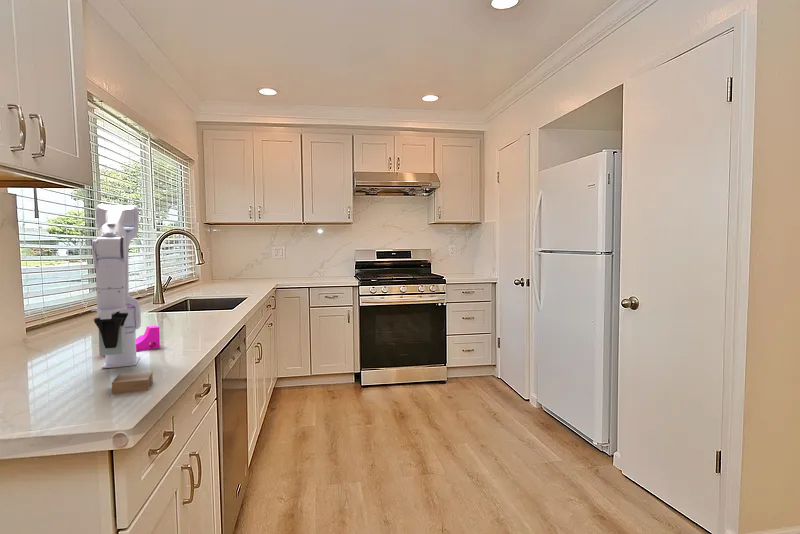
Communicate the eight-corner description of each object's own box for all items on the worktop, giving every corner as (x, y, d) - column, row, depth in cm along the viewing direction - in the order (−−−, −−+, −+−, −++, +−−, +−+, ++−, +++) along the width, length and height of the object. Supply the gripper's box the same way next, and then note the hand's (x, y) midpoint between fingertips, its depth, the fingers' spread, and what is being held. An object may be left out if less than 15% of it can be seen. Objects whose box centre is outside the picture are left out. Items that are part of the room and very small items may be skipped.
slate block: (103, 351, 109) (102, 326, 109) (125, 350, 111) (124, 325, 110) (99, 355, 105) (98, 329, 104) (122, 353, 106) (121, 328, 106)
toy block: (154, 347, 148) (154, 324, 147) (160, 350, 143) (159, 327, 143) (99, 355, 138) (99, 330, 137) (103, 358, 133) (102, 333, 133)
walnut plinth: (119, 387, 106) (118, 374, 106) (152, 384, 109) (152, 371, 109) (112, 396, 100) (111, 382, 100) (148, 392, 102) (148, 379, 102)
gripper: (97, 286, 112) (99, 341, 113) (83, 291, 99) (85, 353, 99) (130, 285, 115) (132, 339, 115) (120, 290, 102) (122, 350, 102)
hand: (112, 345), depth 108 cm, fingers closed on slate block, 4 cm apart
